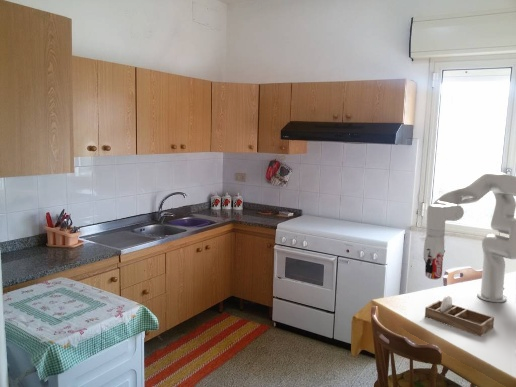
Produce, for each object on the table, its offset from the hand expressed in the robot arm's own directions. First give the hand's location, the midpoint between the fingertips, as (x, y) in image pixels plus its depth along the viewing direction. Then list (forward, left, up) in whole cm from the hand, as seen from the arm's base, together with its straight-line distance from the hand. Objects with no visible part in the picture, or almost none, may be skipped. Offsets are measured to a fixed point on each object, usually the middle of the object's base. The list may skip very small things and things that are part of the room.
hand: (433, 270), depth 195 cm
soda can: (0, 0, -4) cm, 4 cm away
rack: (+2, +13, -19) cm, 24 cm away
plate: (+2, +8, -19) cm, 21 cm away
